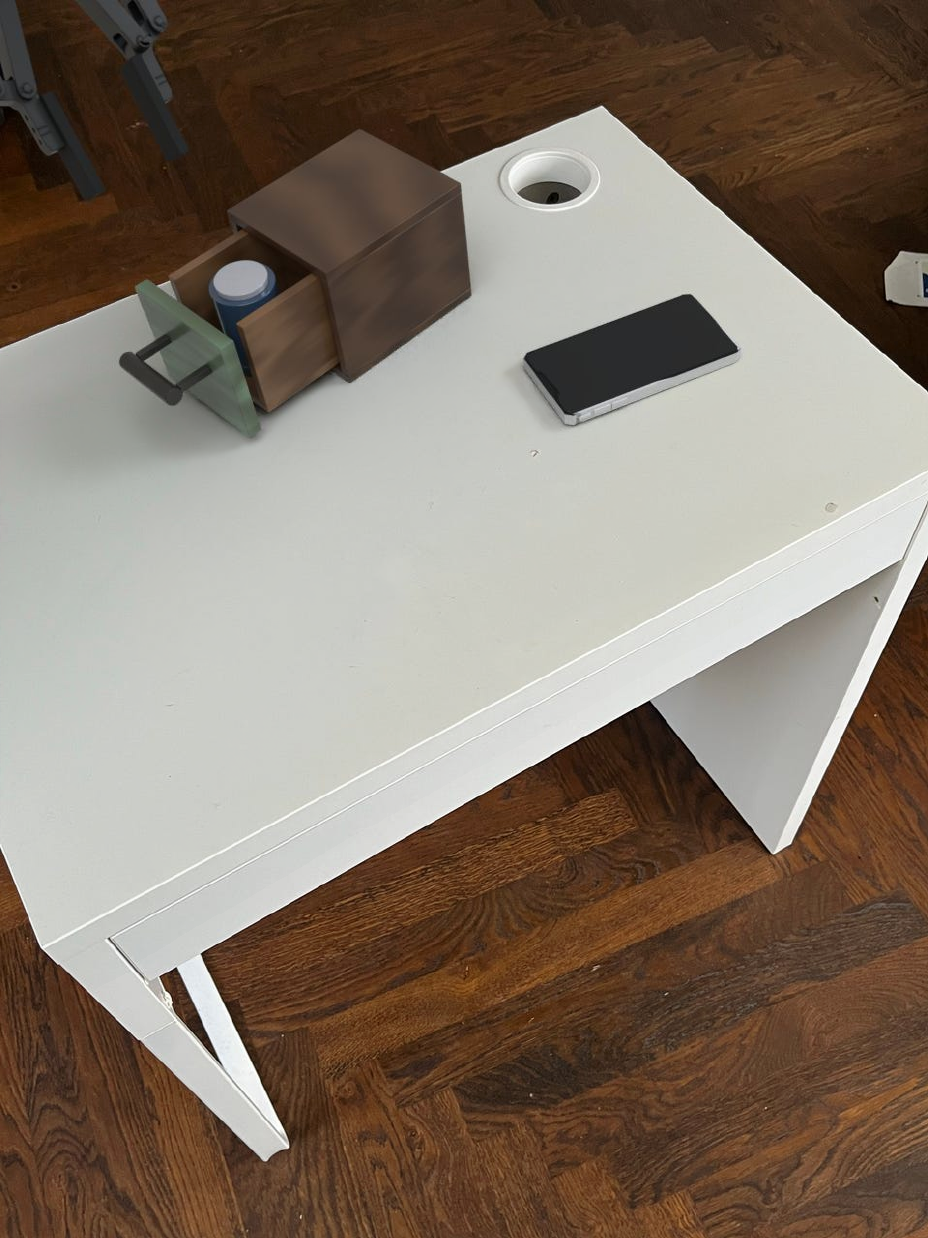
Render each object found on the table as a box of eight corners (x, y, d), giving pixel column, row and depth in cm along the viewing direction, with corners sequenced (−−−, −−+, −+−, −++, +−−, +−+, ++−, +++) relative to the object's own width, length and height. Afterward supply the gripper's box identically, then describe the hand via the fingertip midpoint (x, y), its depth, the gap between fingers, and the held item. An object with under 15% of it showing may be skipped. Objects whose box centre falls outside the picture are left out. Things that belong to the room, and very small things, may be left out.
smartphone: (744, 350, 87) (568, 418, 84) (742, 362, 88) (568, 430, 85) (688, 290, 92) (520, 353, 89) (687, 302, 93) (520, 365, 90)
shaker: (258, 387, 88) (235, 309, 82) (219, 358, 90) (192, 280, 84) (307, 352, 90) (288, 273, 84) (267, 325, 92) (245, 246, 86)
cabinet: (350, 383, 90) (325, 273, 82) (258, 320, 95) (226, 210, 87) (472, 295, 95) (461, 182, 86) (378, 240, 100) (359, 128, 92)
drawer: (205, 470, 85) (171, 381, 78) (125, 405, 90) (86, 316, 82) (372, 351, 91) (354, 258, 84) (288, 295, 96) (265, 204, 88)
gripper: (59, -213, 76) (230, 134, 85) (-219, -128, 68) (1, 242, 77) (90, -272, 70) (271, 109, 79) (-213, -186, 62) (26, 225, 71)
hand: (137, 175), depth 78 cm, fingers open, 6 cm apart
